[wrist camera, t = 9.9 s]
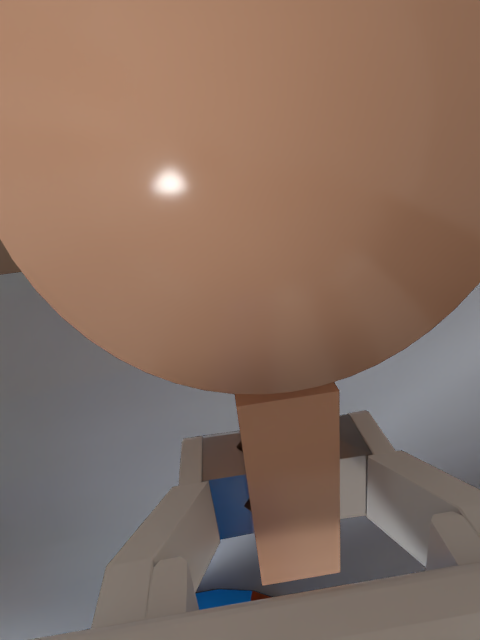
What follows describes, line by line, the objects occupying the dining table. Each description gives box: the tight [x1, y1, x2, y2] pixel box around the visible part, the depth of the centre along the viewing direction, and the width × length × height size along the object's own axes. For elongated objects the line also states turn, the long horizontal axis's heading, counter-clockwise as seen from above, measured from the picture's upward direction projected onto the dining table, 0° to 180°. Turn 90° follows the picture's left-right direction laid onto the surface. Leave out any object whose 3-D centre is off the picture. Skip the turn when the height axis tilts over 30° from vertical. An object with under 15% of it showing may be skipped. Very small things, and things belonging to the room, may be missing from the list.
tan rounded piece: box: [0, 0, 480, 586], centre depth 9 cm, size 13×7×8 cm, turn 7°
